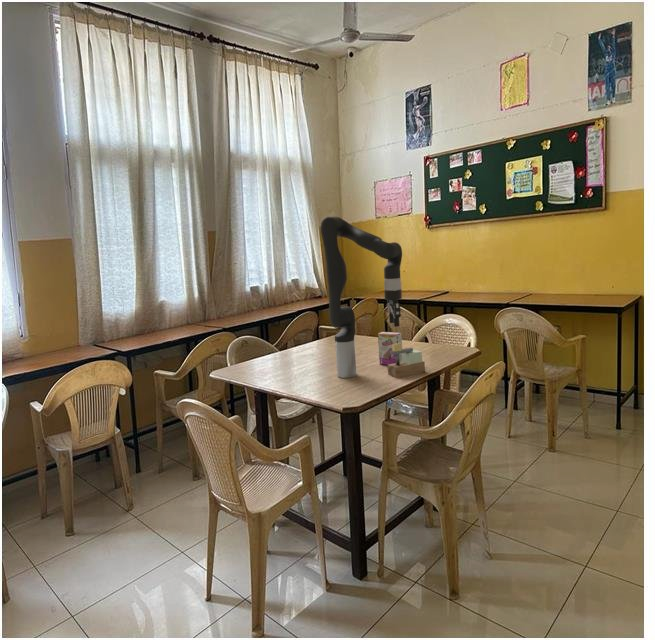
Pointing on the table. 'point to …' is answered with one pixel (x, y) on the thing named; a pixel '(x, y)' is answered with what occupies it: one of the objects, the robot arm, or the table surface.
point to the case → (405, 369)
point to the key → (399, 351)
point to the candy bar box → (388, 347)
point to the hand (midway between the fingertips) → (394, 324)
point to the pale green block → (412, 357)
